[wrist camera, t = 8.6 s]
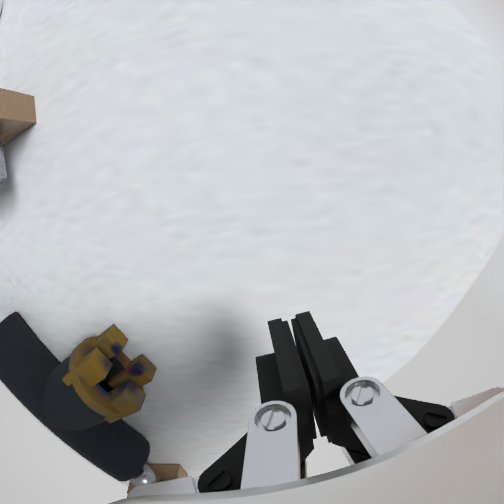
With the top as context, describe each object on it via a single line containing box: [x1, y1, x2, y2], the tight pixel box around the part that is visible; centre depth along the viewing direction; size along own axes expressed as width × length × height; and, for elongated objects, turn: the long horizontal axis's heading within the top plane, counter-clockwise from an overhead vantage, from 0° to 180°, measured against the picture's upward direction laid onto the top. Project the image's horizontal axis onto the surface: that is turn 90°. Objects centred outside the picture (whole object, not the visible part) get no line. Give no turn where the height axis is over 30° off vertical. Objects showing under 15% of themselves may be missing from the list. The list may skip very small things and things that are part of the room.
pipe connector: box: [0, 312, 156, 481], centre depth 16 cm, size 12×5×15 cm
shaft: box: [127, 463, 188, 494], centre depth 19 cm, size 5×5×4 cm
